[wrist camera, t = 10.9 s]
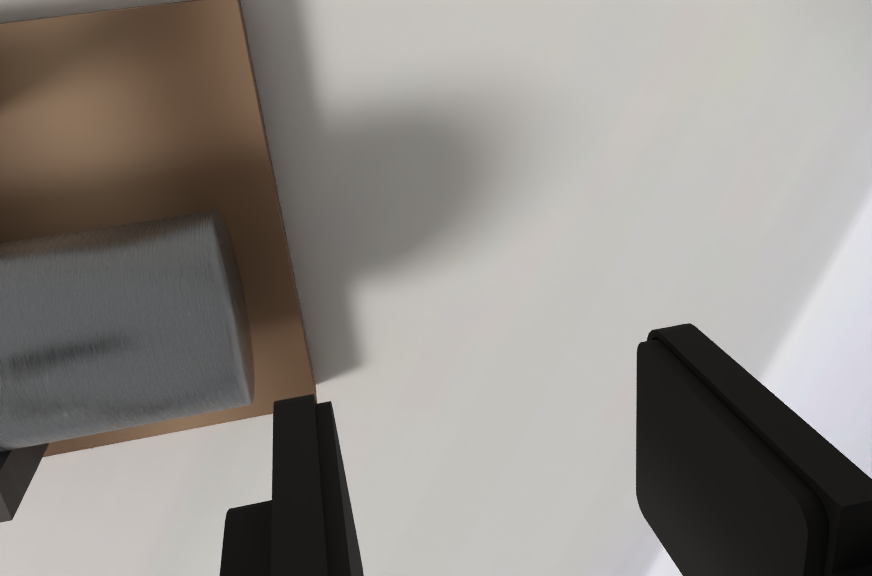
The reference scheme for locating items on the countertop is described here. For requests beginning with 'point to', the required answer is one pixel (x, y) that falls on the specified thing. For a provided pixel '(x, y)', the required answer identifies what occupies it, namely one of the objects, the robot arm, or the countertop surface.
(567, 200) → the countertop surface
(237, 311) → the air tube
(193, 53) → the board
